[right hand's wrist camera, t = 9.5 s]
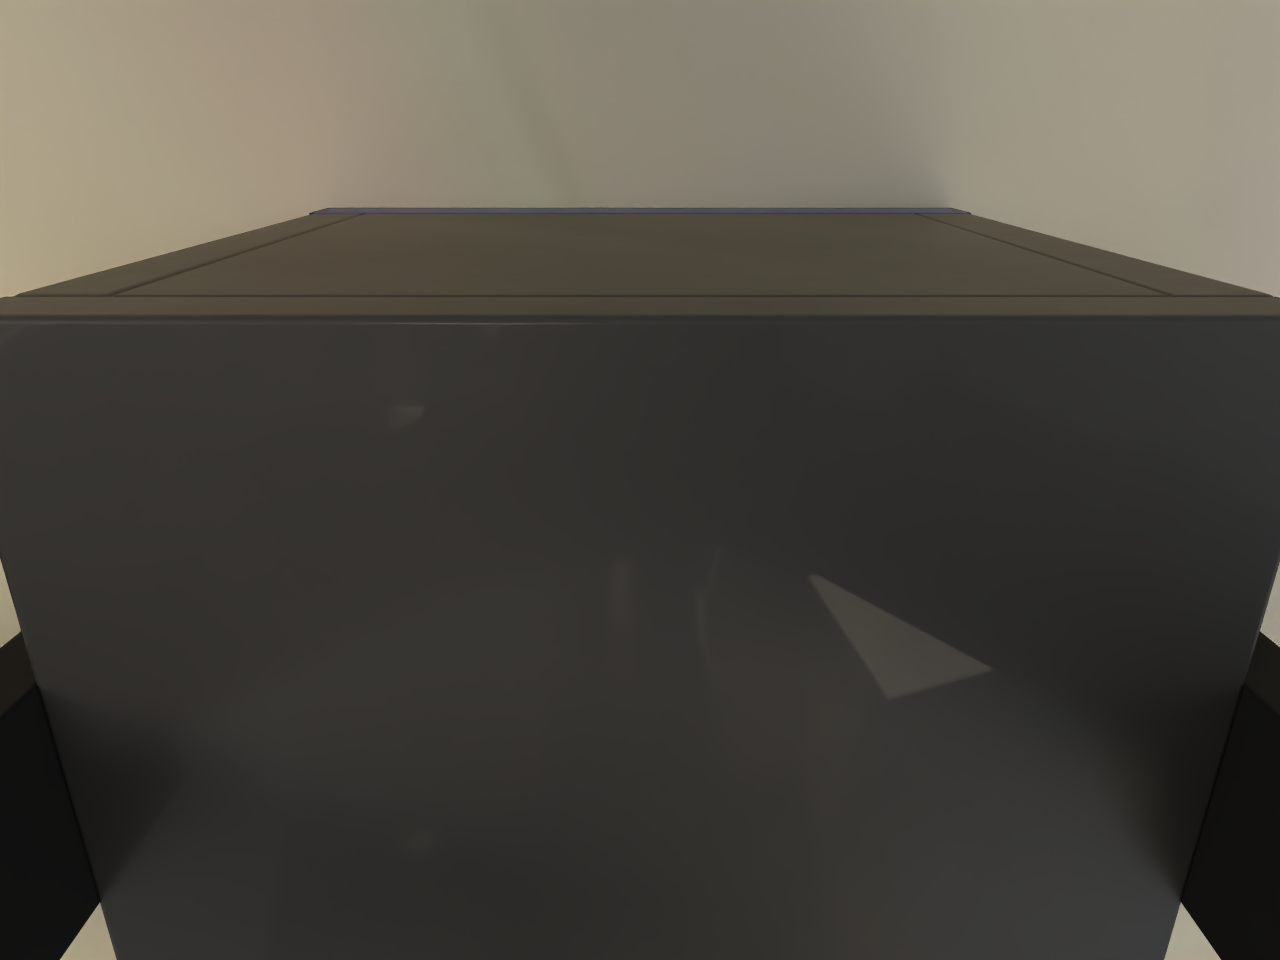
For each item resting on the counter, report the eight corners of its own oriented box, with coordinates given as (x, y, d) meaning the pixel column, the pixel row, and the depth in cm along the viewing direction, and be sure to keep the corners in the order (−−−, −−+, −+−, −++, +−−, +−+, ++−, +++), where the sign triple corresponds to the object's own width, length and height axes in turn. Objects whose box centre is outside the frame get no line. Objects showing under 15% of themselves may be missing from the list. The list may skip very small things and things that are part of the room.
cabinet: (864, 925, 23) (1017, 1472, 14) (415, 925, 23) (262, 1472, 14) (951, 208, 16) (1358, 314, 7) (328, 207, 16) (-76, 314, 7)
